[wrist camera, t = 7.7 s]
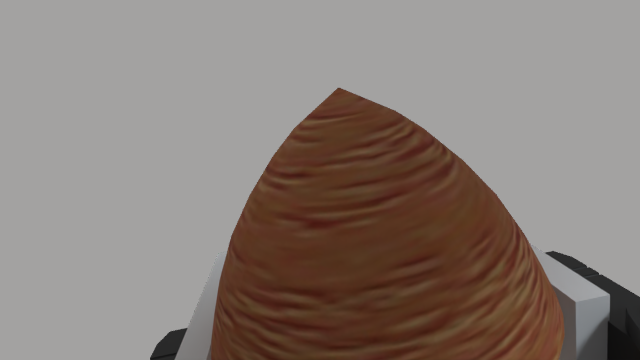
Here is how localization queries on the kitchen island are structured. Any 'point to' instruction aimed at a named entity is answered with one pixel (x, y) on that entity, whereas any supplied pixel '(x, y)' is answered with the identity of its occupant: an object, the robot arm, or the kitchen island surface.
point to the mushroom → (379, 253)
